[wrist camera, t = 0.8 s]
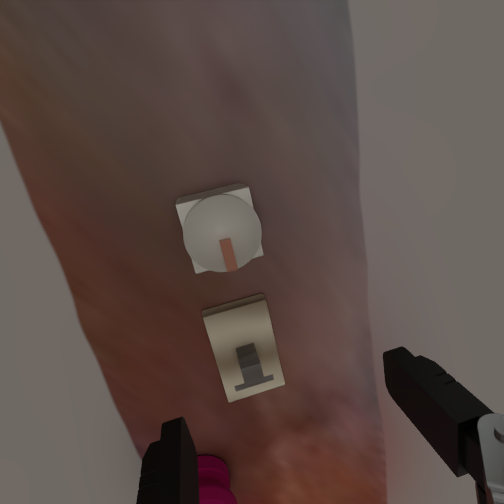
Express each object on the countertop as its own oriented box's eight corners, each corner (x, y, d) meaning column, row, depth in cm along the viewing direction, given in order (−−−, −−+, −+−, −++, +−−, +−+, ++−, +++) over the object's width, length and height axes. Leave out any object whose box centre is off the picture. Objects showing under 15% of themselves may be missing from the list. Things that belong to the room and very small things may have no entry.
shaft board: (202, 310, 31) (204, 336, 26) (262, 293, 31) (274, 315, 27) (227, 392, 34) (232, 427, 30) (281, 375, 35) (294, 407, 30)
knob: (175, 197, 27) (172, 207, 22) (241, 181, 28) (254, 187, 23) (194, 259, 29) (195, 283, 24) (255, 243, 30) (270, 263, 24)
